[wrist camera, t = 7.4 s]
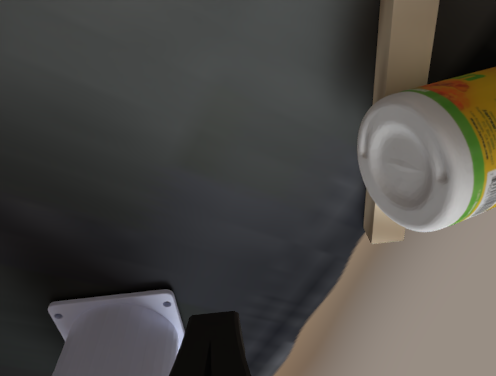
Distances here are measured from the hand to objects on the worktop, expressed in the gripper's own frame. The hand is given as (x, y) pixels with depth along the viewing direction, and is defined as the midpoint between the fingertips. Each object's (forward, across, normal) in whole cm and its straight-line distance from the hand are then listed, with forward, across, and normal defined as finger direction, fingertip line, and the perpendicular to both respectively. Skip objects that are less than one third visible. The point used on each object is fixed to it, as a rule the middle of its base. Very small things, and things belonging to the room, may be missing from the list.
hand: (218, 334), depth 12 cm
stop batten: (+10, -8, -1) cm, 14 cm away
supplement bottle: (+5, -7, -2) cm, 9 cm away
